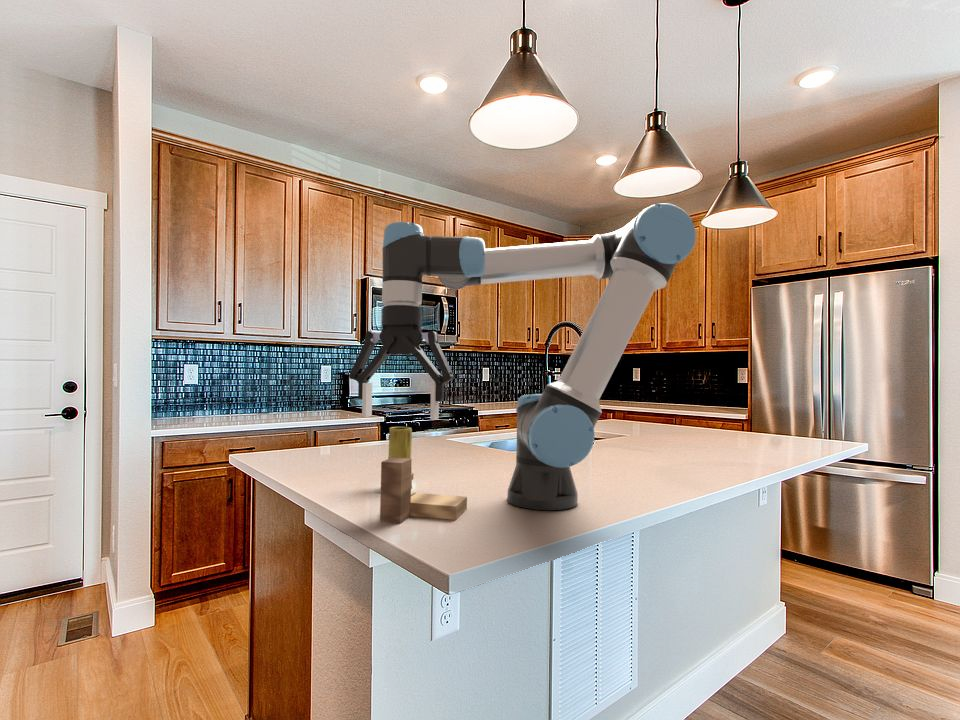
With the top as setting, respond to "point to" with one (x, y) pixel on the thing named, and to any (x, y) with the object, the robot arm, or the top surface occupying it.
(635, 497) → the top surface
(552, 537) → the top surface
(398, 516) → the upright wooden block
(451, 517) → the board
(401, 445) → the vase
